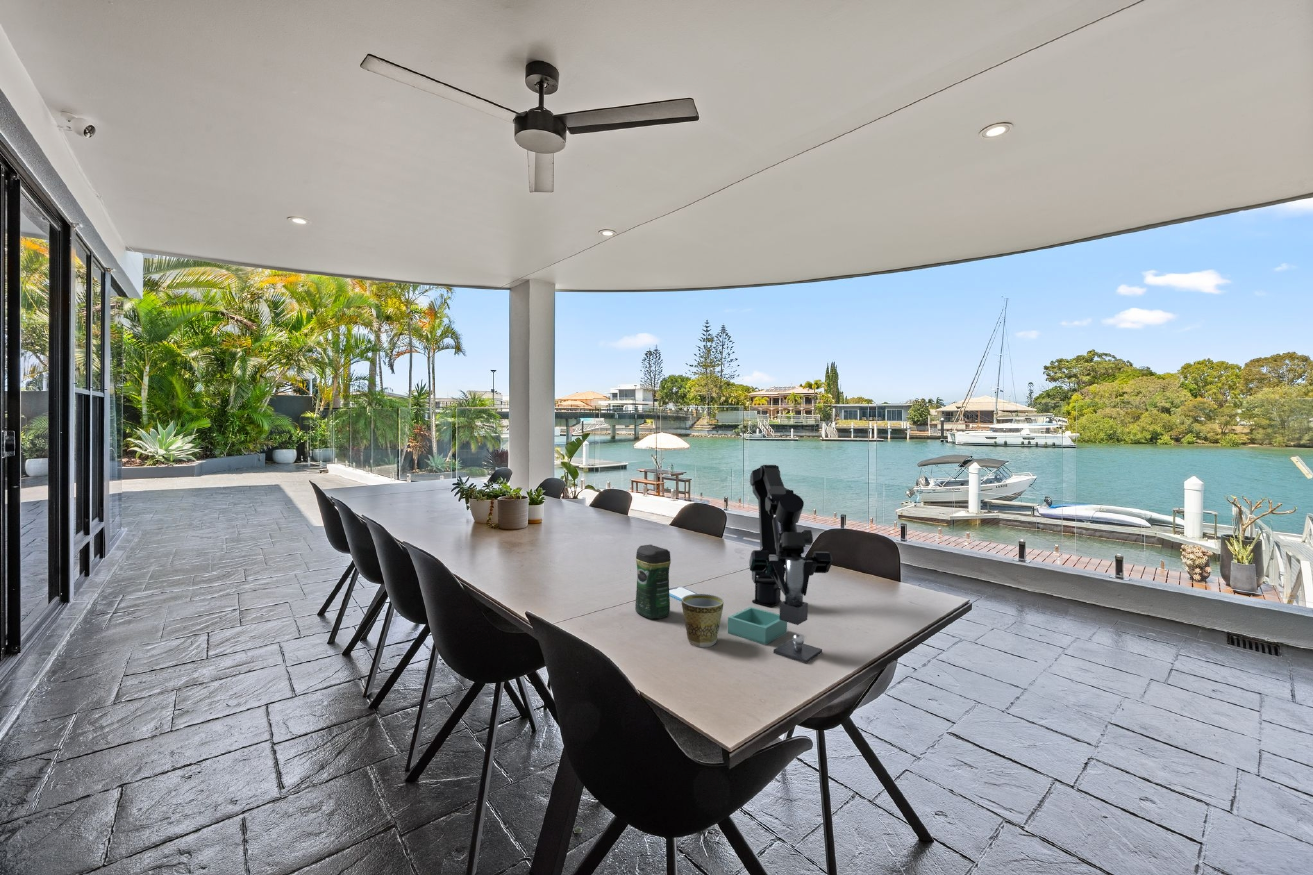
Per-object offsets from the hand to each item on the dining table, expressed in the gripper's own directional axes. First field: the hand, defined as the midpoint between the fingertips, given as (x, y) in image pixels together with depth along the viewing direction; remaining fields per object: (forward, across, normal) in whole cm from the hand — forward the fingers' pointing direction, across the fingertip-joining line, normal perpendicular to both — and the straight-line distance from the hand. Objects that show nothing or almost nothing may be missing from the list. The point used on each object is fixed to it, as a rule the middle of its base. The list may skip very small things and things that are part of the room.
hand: (795, 594), depth 123 cm
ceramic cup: (+5, -21, +14) cm, 26 cm away
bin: (+1, -6, +18) cm, 19 cm away
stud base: (+9, +1, +10) cm, 13 cm away
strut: (+4, 0, +5) cm, 6 cm away
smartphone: (-17, -23, +38) cm, 47 cm away
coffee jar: (-7, -33, +26) cm, 43 cm away
